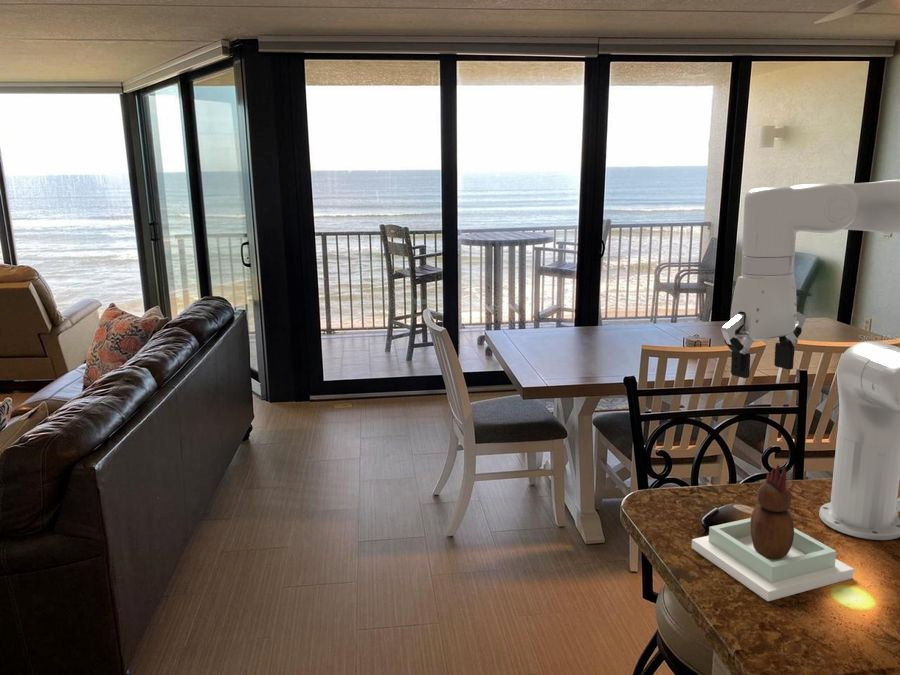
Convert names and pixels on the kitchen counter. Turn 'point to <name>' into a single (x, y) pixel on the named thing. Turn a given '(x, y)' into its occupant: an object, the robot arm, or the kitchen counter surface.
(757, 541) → the wooden figurine
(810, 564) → the ceramic stand
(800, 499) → the kitchen counter surface
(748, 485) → the kitchen counter surface
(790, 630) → the kitchen counter surface
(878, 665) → the kitchen counter surface
